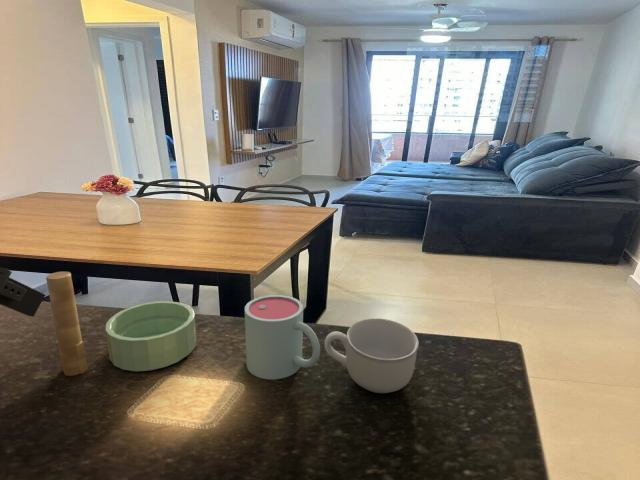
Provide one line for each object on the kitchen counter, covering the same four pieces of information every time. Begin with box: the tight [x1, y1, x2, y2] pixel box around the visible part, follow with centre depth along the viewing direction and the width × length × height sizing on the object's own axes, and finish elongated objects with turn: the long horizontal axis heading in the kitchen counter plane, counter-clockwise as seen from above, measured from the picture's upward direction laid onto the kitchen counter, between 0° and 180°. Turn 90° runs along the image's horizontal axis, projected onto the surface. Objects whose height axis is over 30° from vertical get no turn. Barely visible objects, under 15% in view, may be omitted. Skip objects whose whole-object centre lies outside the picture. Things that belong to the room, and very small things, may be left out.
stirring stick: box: [45, 271, 89, 377], centre depth 57 cm, size 4×3×16 cm
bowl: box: [105, 300, 197, 372], centre depth 65 cm, size 14×14×6 cm
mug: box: [244, 294, 321, 380], centre depth 61 cm, size 14×9×10 cm
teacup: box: [324, 317, 420, 394], centre depth 59 cm, size 14×11×8 cm
